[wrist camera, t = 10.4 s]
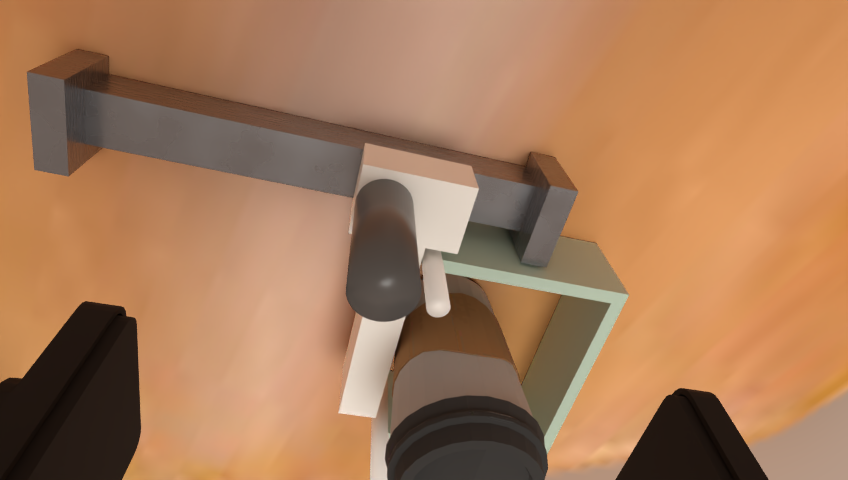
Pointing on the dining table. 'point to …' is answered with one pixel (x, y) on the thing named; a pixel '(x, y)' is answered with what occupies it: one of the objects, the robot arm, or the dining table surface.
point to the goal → (564, 337)
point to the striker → (395, 256)
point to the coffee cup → (460, 397)
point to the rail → (265, 146)
